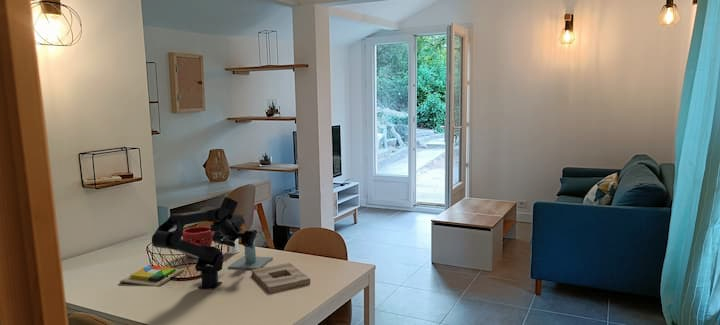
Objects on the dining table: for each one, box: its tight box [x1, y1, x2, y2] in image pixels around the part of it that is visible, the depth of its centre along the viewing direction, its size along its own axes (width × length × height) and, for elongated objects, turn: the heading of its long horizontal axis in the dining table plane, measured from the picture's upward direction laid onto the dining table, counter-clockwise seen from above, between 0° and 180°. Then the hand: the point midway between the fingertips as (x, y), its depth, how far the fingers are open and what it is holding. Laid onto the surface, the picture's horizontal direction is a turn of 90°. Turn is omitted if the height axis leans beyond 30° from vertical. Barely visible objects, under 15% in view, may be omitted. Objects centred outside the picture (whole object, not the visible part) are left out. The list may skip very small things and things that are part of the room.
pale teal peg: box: [244, 238, 257, 264], centre depth 215 cm, size 4×4×12 cm
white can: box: [225, 239, 241, 255], centre depth 232 cm, size 7×7×15 cm
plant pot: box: [181, 226, 213, 259], centre depth 230 cm, size 13×13×12 cm
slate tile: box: [227, 255, 274, 271], centre depth 216 cm, size 14×14×1 cm
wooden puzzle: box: [119, 263, 185, 287], centre depth 204 cm, size 18×19×4 cm
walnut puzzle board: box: [251, 262, 311, 293], centre depth 196 cm, size 22×16×2 cm
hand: (243, 246), depth 211 cm, fingers open, 9 cm apart
